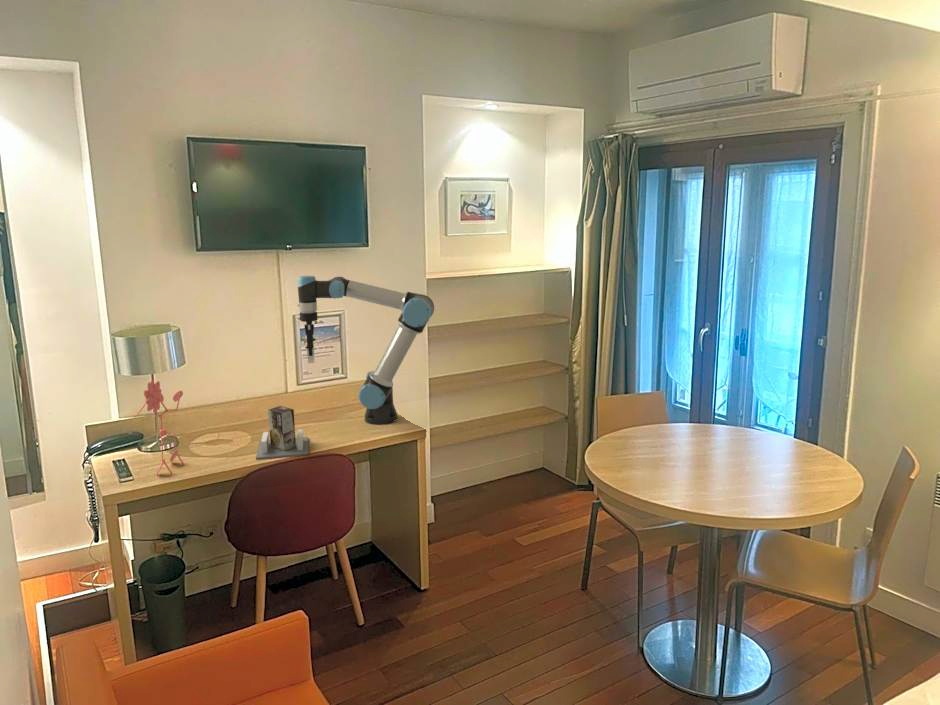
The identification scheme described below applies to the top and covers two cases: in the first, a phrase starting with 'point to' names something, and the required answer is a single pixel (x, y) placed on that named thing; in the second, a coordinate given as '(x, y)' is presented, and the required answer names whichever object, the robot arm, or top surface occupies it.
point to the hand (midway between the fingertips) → (311, 359)
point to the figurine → (153, 402)
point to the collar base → (271, 452)
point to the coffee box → (282, 428)
